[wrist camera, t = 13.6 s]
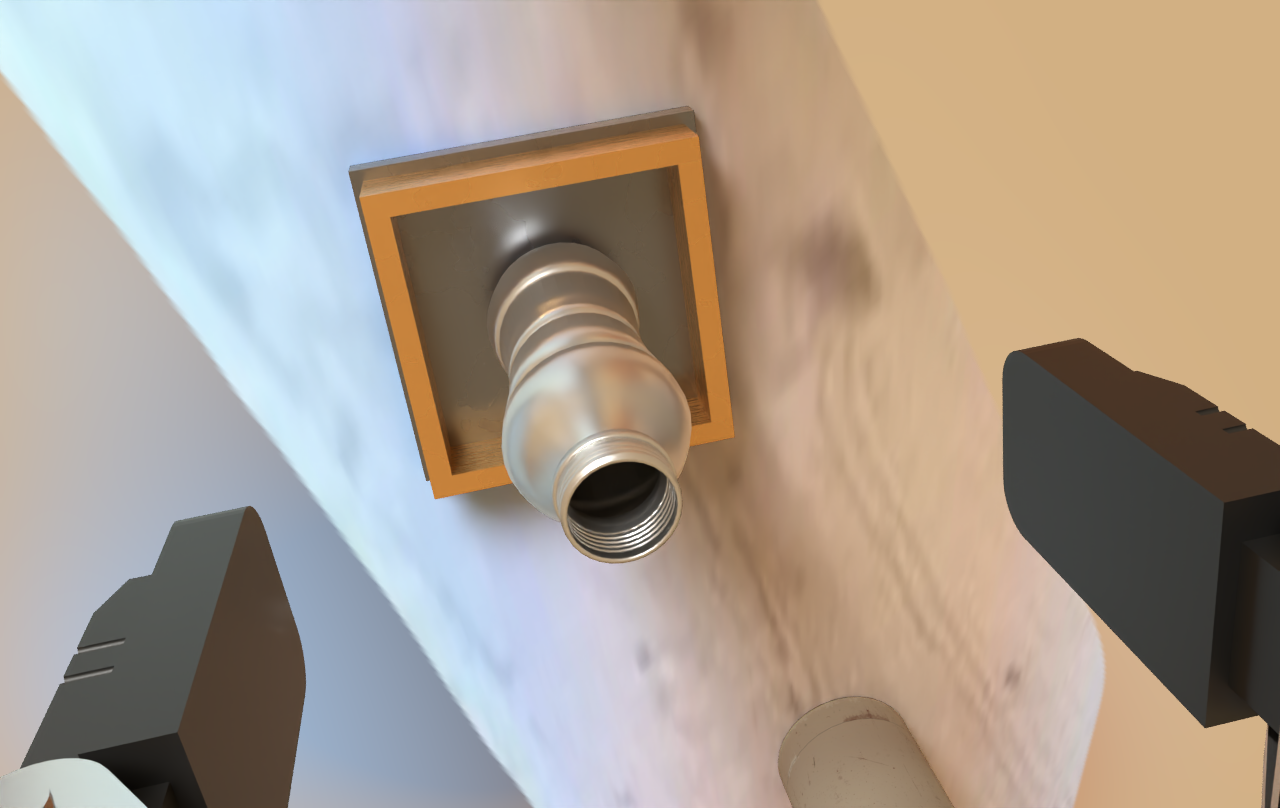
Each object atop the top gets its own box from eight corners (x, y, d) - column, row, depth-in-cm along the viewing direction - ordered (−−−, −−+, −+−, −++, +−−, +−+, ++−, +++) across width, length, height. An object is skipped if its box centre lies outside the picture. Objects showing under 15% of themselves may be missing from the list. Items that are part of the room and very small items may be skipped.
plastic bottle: (657, 310, 53) (773, 520, 35) (539, 394, 54) (593, 642, 35) (575, 200, 50) (656, 365, 32) (453, 290, 51) (464, 501, 33)
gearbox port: (350, 165, 49) (343, 187, 45) (687, 105, 51) (708, 122, 47) (426, 469, 55) (426, 511, 52) (724, 408, 57) (746, 444, 53)
